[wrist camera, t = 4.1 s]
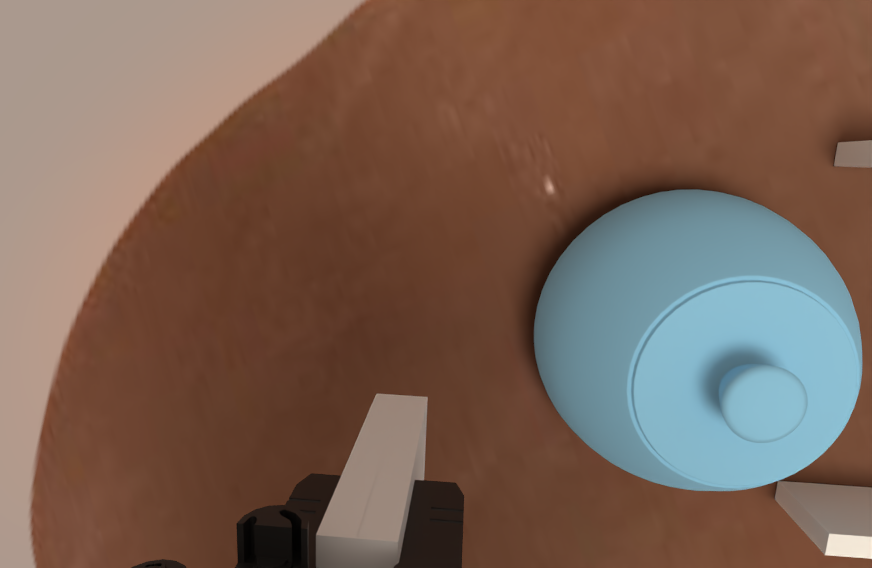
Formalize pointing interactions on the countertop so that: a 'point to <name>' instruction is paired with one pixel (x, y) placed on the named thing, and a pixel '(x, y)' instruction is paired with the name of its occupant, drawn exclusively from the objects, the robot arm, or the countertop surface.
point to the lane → (823, 503)
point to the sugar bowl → (699, 342)
